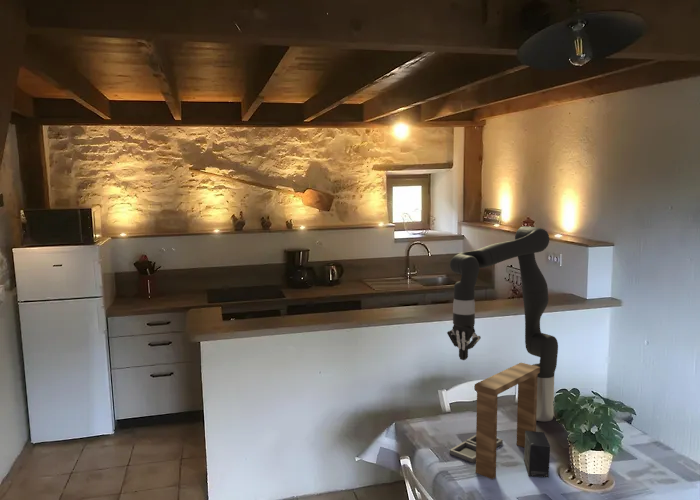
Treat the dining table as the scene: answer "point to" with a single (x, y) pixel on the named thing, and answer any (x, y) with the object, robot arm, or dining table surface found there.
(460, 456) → the tray
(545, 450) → the small box
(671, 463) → the dining table surface
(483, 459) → the tunnel
